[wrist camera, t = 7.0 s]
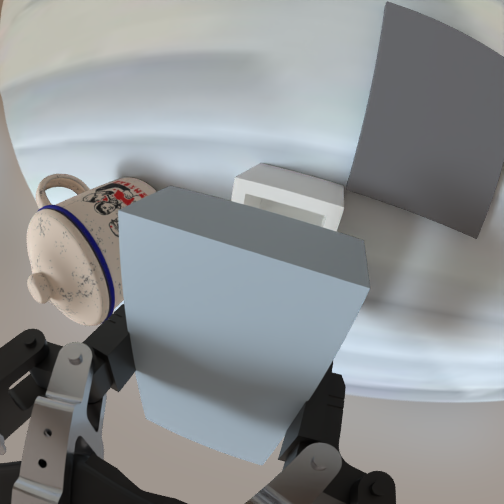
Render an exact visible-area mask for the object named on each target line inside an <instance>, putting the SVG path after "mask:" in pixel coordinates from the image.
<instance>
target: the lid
mask: <svg viewBox="0 0 504 504" xmlns="http://www.w3.org/2000/svg"><path fill="white" fill-rule="evenodd" d="M118 223H119V248H120V264H121V276H122V287H123V297H124V305H125V313H126V321H127V328H128V332H129V333H130V339H131V345H132V351H133V357H134V363H135V368H136V371H135V374H136V378H137V383H138V387H139V392H140V396H141V401H142V404H143V409H144V413H145V417H146V419H148V420H150V421H152V422H153V423H156V424H158V425H159V426H161V427H164V428H166V429H168V430H170V431H172V432H174V433H176V434H178V435H181V436H183V437H185V438H187V439H190V440H192V441H194V442H197V443H199V444H202V445H204V446H207V447H209V448H212V449H215V450H217V451H220V452H223V453H225V454H228V455H231V456H234V457H237V458H240V459H243V460H246V461H249V462H253V463H256V464H259V465H263V464H264V462H265V461H266V460H267V459H268V457H269V456H270V455H271V454H272V452H273V451H274V450H275V448H276V447H277V446H278V444H279V443H280V441H281V440H282V439H283V437H284V436H285V434H286V431H287V429H288V428H289V426H290V425H291V423H292V422H293V420H294V419H295V417H296V416H297V414H298V413H299V411H300V410H301V408H302V406H303V405H304V403H305V402H306V401H309V399H310V397H311V396H312V394H313V393H314V391H315V390H316V388H317V386H318V385H319V383H320V381H321V380H322V378H323V376H324V375H325V373H326V371H327V370H328V368H329V366H330V365H331V363H332V361H333V359H334V358H335V356H336V354H337V352H338V351H339V349H340V347H341V345H342V343H343V341H344V340H345V338H346V336H347V334H348V332H349V330H350V328H351V326H352V324H353V322H354V321H355V319H356V317H357V315H358V313H359V311H360V309H361V307H362V304H363V302H364V300H365V298H366V296H367V294H368V292H369V290H370V283H369V275H368V267H367V259H366V252H365V245H364V240H361V239H358V238H355V237H352V236H349V235H346V234H343V233H339V232H336V231H333V230H330V229H327V228H323V227H320V226H317V225H314V224H310V223H307V222H304V221H300V220H297V219H293V218H290V217H287V216H283V215H280V214H276V213H273V212H269V211H266V210H262V209H259V208H255V207H251V206H248V205H244V204H240V203H237V202H233V201H229V200H225V199H222V198H218V197H214V196H210V195H206V194H202V193H198V192H194V191H190V190H186V189H182V188H178V187H174V186H169V187H167V188H164V189H162V190H160V191H158V192H156V193H153V194H151V195H149V196H147V197H145V198H143V199H141V200H138V201H136V202H134V203H132V204H130V205H128V206H126V207H124V208H122V209H120V210H118Z"/></svg>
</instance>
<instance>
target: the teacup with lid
mask: <svg viewBox="0 0 504 504" xmlns="http://www.w3.org/2000/svg"><path fill="white" fill-rule="evenodd" d="M52 187H65V188H69V189H71V190H73V191H74V192H75V193H76V194H77V196H74V197H72V198H70V199H67V200H65V201H63V202H61V203H58V204H56V205H52V204H51V203H50V201H49V200H48V198H47V196H46V193H45V190H47V189H49V188H52ZM156 192H157V191H156V190H155V189H154V188H153V187H151V186H150V185H149V184H147V183H146V182H144V181H142V180H139V179H136V178H130V177H125V178H120V179H116V180H114V181H111V182H109V183H106V184H103V185H101V186H98V187H96V188H93V189H91V190H90V189H89V188H88V187H87V185H86V184H85V183H84V182H82V181H81V180H80V179H78V178H76V177H74V176H72V175H68V174H53V175H50V176H47V177H46V178H44V179H43V180H42V181H41V182H40V184H39V186H38V188H37V191H36V202H37V205H38V207H39V210H38V212H37V213H36V214H35V215H34V216H33V218H32V219H31V221H30V223H29V226H28V232H27V248H28V254H29V259H30V262H31V267H32V273H33V274H32V275H31V276H29V278H28V282H27V285H28V289H29V291H30V293H31V295H32V296H33V298H34V299H35V300H36V301H37V302H39V303H42V304H43V303H46V302H47V301H49V302H50V303H52V304H53V305H54V306H56V307H57V308H58V309H59V310H60V311H61V312H62V313H63V314H64V315H66V316H67V317H68V318H70V319H71V320H73V321H75V322H77V323H79V324H82V325H86V326H94V325H98V324H101V323H103V322H104V321H105V320H108V318H109V317H110V316H111V315H112V313H113V310H114V309H115V308H116V307H117V306H118V305H119V304H120V303H121V302H122V301H123V300H124V297H123V287H122V276H121V264H120V248H119V223H118V210H120V209H122V208H124V207H126V206H128V205H130V204H132V203H134V202H136V201H138V200H141V199H143V198H145V197H147V196H149V195H151V194H153V193H156Z"/></svg>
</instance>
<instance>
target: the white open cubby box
mask: <svg viewBox="0 0 504 504" xmlns="http://www.w3.org/2000/svg"><path fill="white" fill-rule="evenodd" d="M231 201H233V202H237V203H240V204H244V205H248V206H251V207H255V208H259V209H262V210H266V211H269V212H273V213H276V214H280V215H283V216H287V217H290V218H293V219H297V220H300V221H304V222H307V223H310V224H314V225H317V226H320V227H323V228H327V229H330V230H333V231H336V232H337V229H338V226H339V223H340V220H341V217H342V213H343V210H344V186H343V185H340V184H337V183H334V182H330V181H327V180H324V179H320V178H317V177H313V176H310V175H306V174H302V173H299V172H295V171H291V170H287V169H284V168H280V167H276V166H272V165H268V164H263V163H260V164H258V165H256V166H254V167H252V168H250V169H249V170H247V171H245V172H243V173H241V174H240V175H238V176H236V177H235V179H234V185H233V191H232V197H231Z"/></svg>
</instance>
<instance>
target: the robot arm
mask: <svg viewBox="0 0 504 504" xmlns="http://www.w3.org/2000/svg"><path fill="white" fill-rule="evenodd" d="M332 367H333V361H332V363H331V365H330V366H329V368H328V370H327V371H326V373H325V375H324V376H323V378H322V380H321V381H320V383H319V385H318V386H317V388H316V390H315V391H314V393H313V394H312V396H311V397H310V399H309V401H306V402H305V403H304V405H303V406H302V408H301V410H300V411H299V413H298V414H297V416H296V417H295V419H294V420H293V422H292V423H291V425H290V426H289V428H288V429H287V431H286V434H285V438H284V441H283V444H282V448H281V451H280V455H279V458H278V460H282V461H285V464H284V467H283V470H282V472H281V473H279V474H278V475H277V476H276V477H275V478H274V479H273V480H272V481H271V482H270V483H269V484H267V485H266V486H265V487H264V488H263V489H262V490H260V491H259V492H258V493H257V494H256V495H255V496H254V497H252V498H251V499H250V500H249V501H247V502H246V503H245V504H396V493H395V492H396V491H395V483H394V481H393V479H392V478H391V477H390V475H388V474H387V473H385V472H382V471H373V472H370V473H368V474H367V473H364V472H362V471H360V470H358V469H356V468H354V467H352V466H351V465H349V464H348V463H346V462H345V461H344V459H343V458H342V457H341V454H340V452H339V438H340V431H341V424H342V415H343V407H344V398H345V384H344V381H343V378H342V375H339V374H336V373H332ZM28 371H29V372H30V373H31V374H30V375H28V376H27V377H26V378H25V379H23V380H22V381H21V382H20V383H19V384H17V385H16V386H15V387H14V388H12V389H10V390H9V387H10V386H11V385H12V384H13V383H15V382H16V381H17V380H18V379H20V378H21V377H22V376H23V375H24V374H26V373H27V372H28ZM135 371H136V368H135V363H134V357H133V351H132V345H131V339H130V333H129V332H128V328H127V321H126V313H125V305H124V304H123V305H121V306H120V307H119V308H118V309H117V310H116V311H115V312H114V314H112V315H111V316H110V317H109V318H108V320H105V321H104V322H103V323H102V324H101V325H100V326H99V327H98V328H97V329H96V330H95V331H94V332H93V333H92V334H91V335H90V336H89V337H88V338H87V339H86V340H85V341H84V342H82V343H80V342H72V343H69V344H67V345H65V346H64V347H63V346H60V345H56V344H53V343H50V342H47V341H46V339H45V336H44V334H43V333H42V332H41V331H39V330H37V329H28V330H25V331H23V332H22V333H20V334H19V335H18V336H16V337H15V338H13V339H12V340H11V341H9V342H8V343H7V344H5V345H4V346H3V347H1V348H0V455H4V454H5V453H6V447H5V445H4V440H6V439H7V438H8V437H9V436H10V435H11V434H12V433H13V432H14V431H15V430H17V429H18V428H19V427H20V426H21V425H22V424H23V423H24V422H25V421H26V420H28V419H29V418H30V417H31V418H30V422H29V427H28V431H27V436H26V440H25V445H24V450H23V456H22V461H17V462H9V463H0V504H187V503H185V502H182V501H179V500H177V499H175V498H170V497H166V496H162V495H157V494H153V493H149V492H145V491H143V490H141V489H139V488H138V487H137V486H136V485H135V484H134V483H132V482H131V481H130V480H129V479H128V478H127V477H126V476H125V475H124V474H122V473H121V472H120V471H119V470H118V469H117V468H116V467H114V466H112V465H111V464H109V463H107V462H106V461H104V447H103V441H102V428H103V419H104V412H105V404H106V397H107V396H106V392H107V391H108V390H109V389H110V387H111V388H112V389H114V390H116V391H118V392H119V391H120V390H121V389H122V388H123V386H124V385H125V384H126V382H127V381H128V380H129V379H130V377H131V376H132V375H133V373H134V372H135Z"/></svg>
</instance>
